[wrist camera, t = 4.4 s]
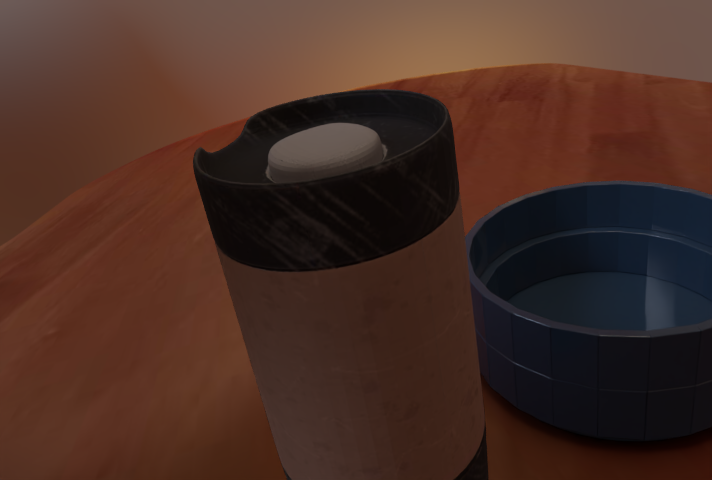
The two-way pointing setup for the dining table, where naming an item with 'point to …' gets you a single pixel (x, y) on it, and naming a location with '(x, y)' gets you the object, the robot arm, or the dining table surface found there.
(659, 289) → the blue pet bowl
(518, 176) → the dining table surface
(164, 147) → the dining table surface
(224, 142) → the dining table surface
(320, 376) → the travel mug
